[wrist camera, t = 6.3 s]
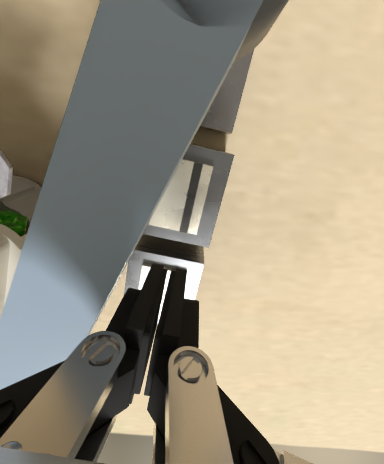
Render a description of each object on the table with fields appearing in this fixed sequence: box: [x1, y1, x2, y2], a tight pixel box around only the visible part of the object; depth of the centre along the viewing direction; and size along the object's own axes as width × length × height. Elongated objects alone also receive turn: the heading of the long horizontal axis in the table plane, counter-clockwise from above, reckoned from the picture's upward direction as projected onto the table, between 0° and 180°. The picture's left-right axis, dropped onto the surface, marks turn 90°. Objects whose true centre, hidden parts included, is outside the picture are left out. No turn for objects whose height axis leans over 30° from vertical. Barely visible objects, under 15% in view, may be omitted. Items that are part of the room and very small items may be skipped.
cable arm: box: [0, 0, 288, 390], centre depth 8 cm, size 22×4×3 cm, turn 150°
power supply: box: [143, 144, 234, 248], centre depth 18 cm, size 7×6×5 cm
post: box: [200, 49, 254, 134], centre depth 12 cm, size 6×6×12 cm
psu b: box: [124, 234, 204, 324], centre depth 21 cm, size 7×6×5 cm
